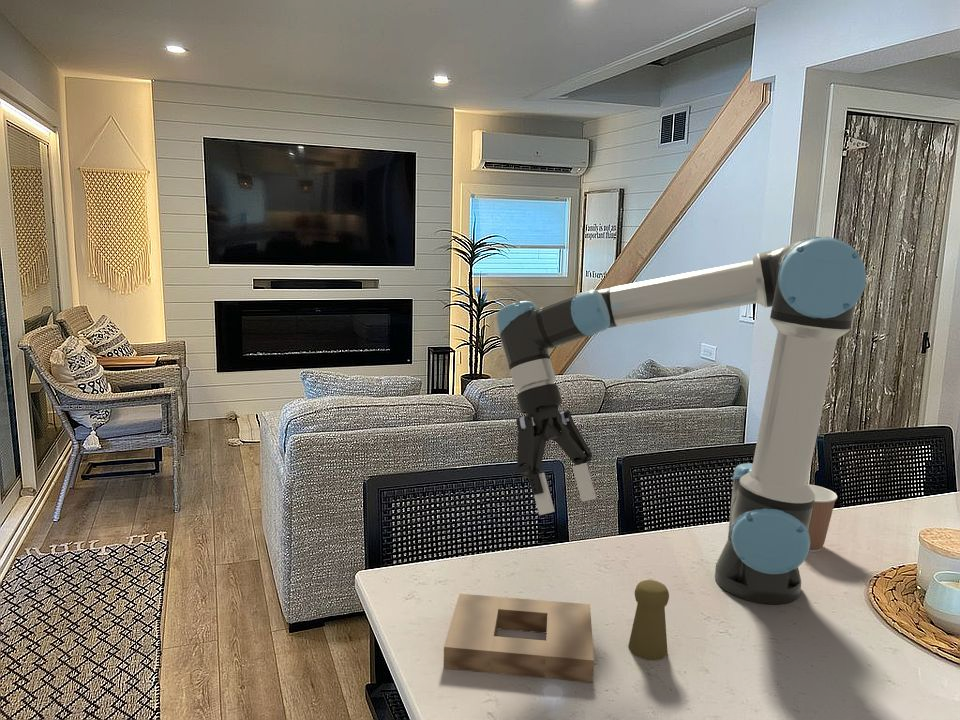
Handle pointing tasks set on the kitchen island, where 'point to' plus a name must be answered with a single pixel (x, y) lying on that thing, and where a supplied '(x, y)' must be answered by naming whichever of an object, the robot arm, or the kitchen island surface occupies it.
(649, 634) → the cork
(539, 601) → the wooden block with hole
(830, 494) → the coffee cup
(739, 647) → the kitchen island surface
